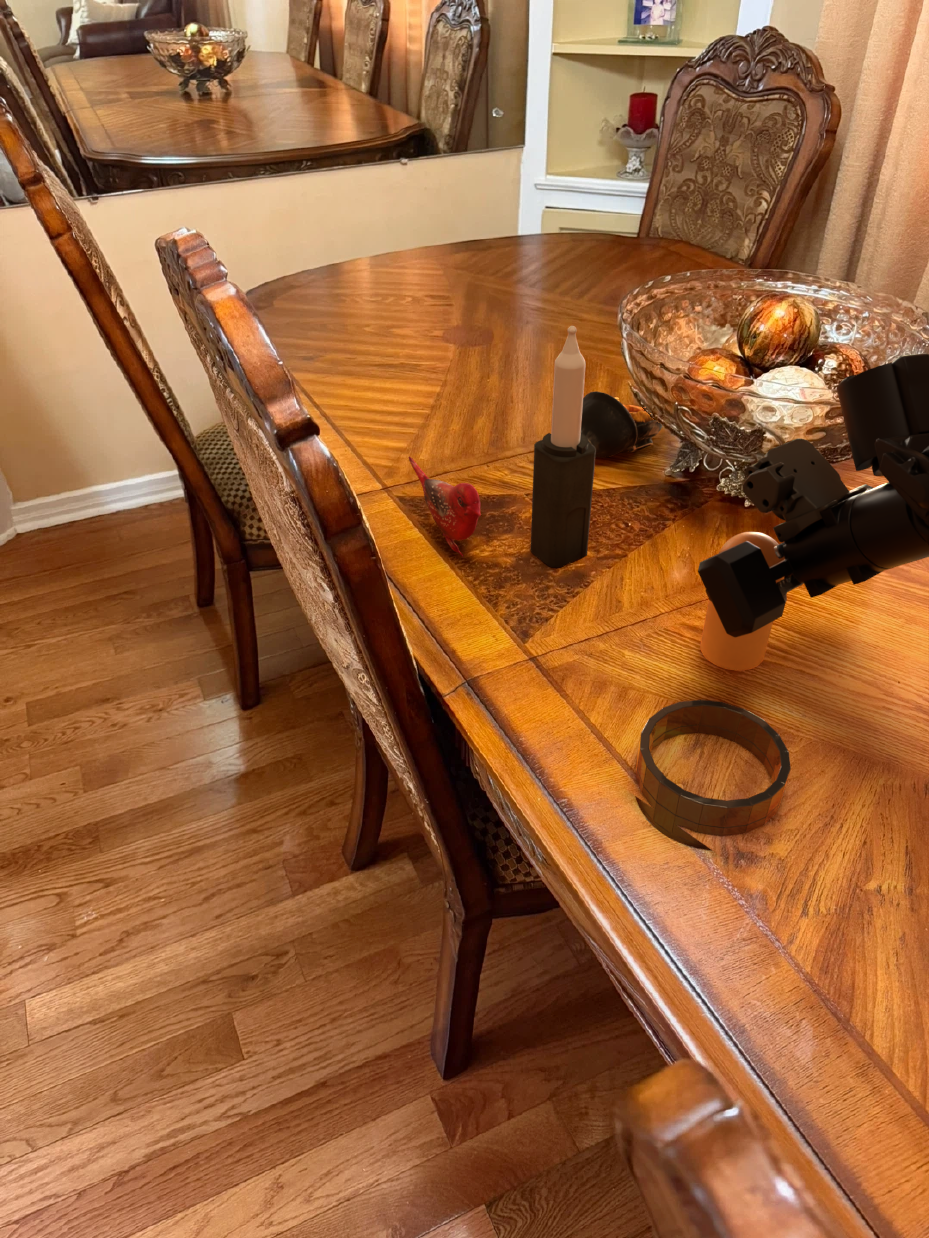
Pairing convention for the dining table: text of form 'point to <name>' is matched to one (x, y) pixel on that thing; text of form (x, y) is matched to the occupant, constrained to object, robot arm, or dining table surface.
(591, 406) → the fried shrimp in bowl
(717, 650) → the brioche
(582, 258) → the dining table surface
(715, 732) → the brown ring
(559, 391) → the candle
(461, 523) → the decorative bird figurine
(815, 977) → the dining table surface
